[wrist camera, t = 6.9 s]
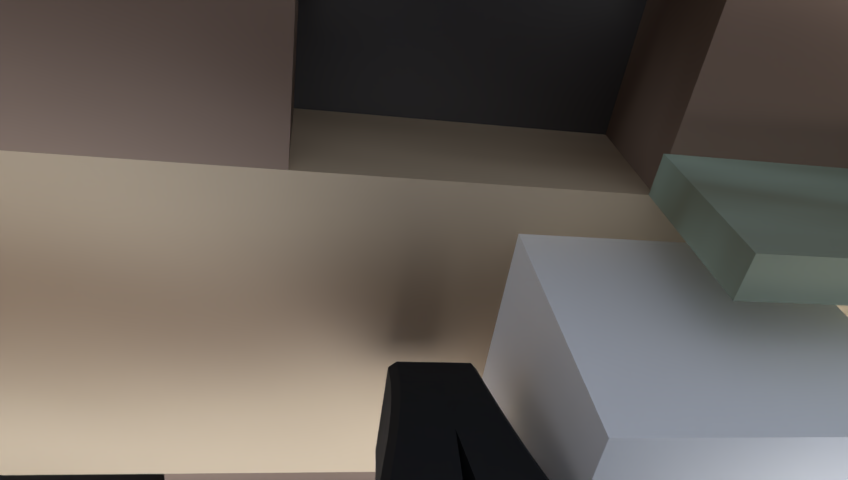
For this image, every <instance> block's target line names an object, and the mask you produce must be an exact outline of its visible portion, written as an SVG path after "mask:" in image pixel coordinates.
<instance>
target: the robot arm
mask: <svg viewBox="0 0 848 480" xmlns="http://www.w3.org/2000/svg"><path fill="white" fill-rule="evenodd" d="M375 460H376V468H375V480H549V479H548V477H547V476H546V475H545V473H544V472H543V471H542V469H541V468H540V466H539V465H538V464H537V462H536V461H535V459H534V458H533V457H532V455H531V454H530V452H529V451H528V449H527V448H526V446H525V445H524V444H523V442H522V441H521V439H520V438H519V436H518V435H517V433H516V432H515V430H514V429H513V427H512V426H511V424H510V422H509V421H508V419H507V418H506V416H505V415H504V413H503V412H502V410H501V409H500V407H499V405H498V404H497V402H496V401H495V399H494V397H493V396H492V394H491V393H490V391H489V389H488V388H487V386H486V384H485V383H484V381H483V379H482V378H481V376H480V375H479V373H478V371H477V369H476V368H475V367H474V366H473V365H472V364H471V363H452V362H399V361H397V362H395V363H394V364H392V365H391V366H389V367H388V371H387V377H386V384H385V390H384V397H383V404H382V410H381V417H380V423H379V430H378V436H377V443H376V449H375Z"/></svg>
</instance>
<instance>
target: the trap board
mask: <svg viewBox="0 0 848 480" xmlns="http://www.w3.org/2000/svg"><path fill="white" fill-rule="evenodd" d="M518 234H532V235H551V236H570V237H589V238H608V239H627V240H646V241H665V242H684V243H687V244H688V245H689V246H690V248H691V249H692V250H693V251H694V253H695V254H696V255H697V256H698V258H699V259H700V260H701V261H702V263H703V264H704V265H705V266H706V268H707V269H708V270H709V271H710V273H711V274H712V275H713V277H714V278H715V279H716V280H717V282H718V283H719V284H720V285H721V287H722V288H723V289H724V290H725V292H726V293H727V294H728V295H729V297H730V298H731V299H732V300H733V301H744V302H769V303H795V304H820V305H836V306H837V307H838V308H839V309H840V310H841V311H842V312H843V313H844V314H845V315H846V316H847V317H848V0H0V480H375V468H376V460H375V449H376V443H377V436H378V430H379V423H380V417H381V410H382V404H383V397H384V390H385V384H386V377H387V371H388V367H389V366H391V365H392V364H394V363H395V362H397V361H399V362H452V363H471V364H472V365H473V366H474V367H475V368H476V369H477V371H478V373H479V375H480V376H481V378H482V377H483V373H484V369H485V365H486V361H487V357H488V353H489V349H490V345H491V341H492V337H493V333H494V329H495V325H496V321H497V317H498V313H499V309H500V305H501V301H502V297H503V293H504V289H505V285H506V281H507V278H508V274H509V270H510V266H511V262H512V258H513V254H514V250H515V246H516V242H517V238H518Z"/></svg>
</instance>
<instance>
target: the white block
mask: <svg viewBox="0 0 848 480" xmlns="http://www.w3.org/2000/svg"><path fill="white" fill-rule="evenodd" d="M482 379H483V381H484V383H485V384H486V386H487V388H488V389H489V391H490V393H491V394H492V396H493V397H494V399H495V401H496V402H497V404H498V405H499V407H500V409H501V410H502V412H503V413H504V415H505V416H506V418H507V419H508V421H509V422H510V424H511V426H512V427H513V429H514V430H515V432H516V433H517V435H518V436H519V438H520V439H521V441H522V442H523V444H524V445H525V446H526V448H527V449H528V451H529V452H530V454H531V455H532V457H533V458H534V459H535V461H536V462H537V464H538V465H539V466H540V468H541V469H542V471H543V472H544V473H545V475H546V476H547V477H548V479H549V480H848V317H847V316H846V315H845V314H844V313H843V312H842V311H841V310H840V309H839V308H838V307H837V306H836V305H820V304H795V303H769V302H744V301H733V300H732V299H731V298H730V297H729V295H728V294H727V293H726V292H725V290H724V289H723V288H722V287H721V285H720V284H719V283H718V282H717V280H716V279H715V278H714V277H713V275H712V274H711V273H710V271H709V270H708V269H707V268H706V266H705V265H704V264H703V263H702V261H701V260H700V259H699V258H698V256H697V255H696V254H695V253H694V251H693V250H692V249H691V248H690V246H689V245H688V244H687V243H684V242H665V241H646V240H627V239H608V238H589V237H570V236H551V235H532V234H518V238H517V242H516V246H515V250H514V254H513V258H512V262H511V266H510V270H509V274H508V278H507V281H506V285H505V289H504V293H503V297H502V301H501V305H500V309H499V313H498V317H497V321H496V325H495V329H494V333H493V337H492V341H491V345H490V349H489V353H488V357H487V361H486V365H485V369H484V373H483V377H482Z"/></svg>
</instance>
